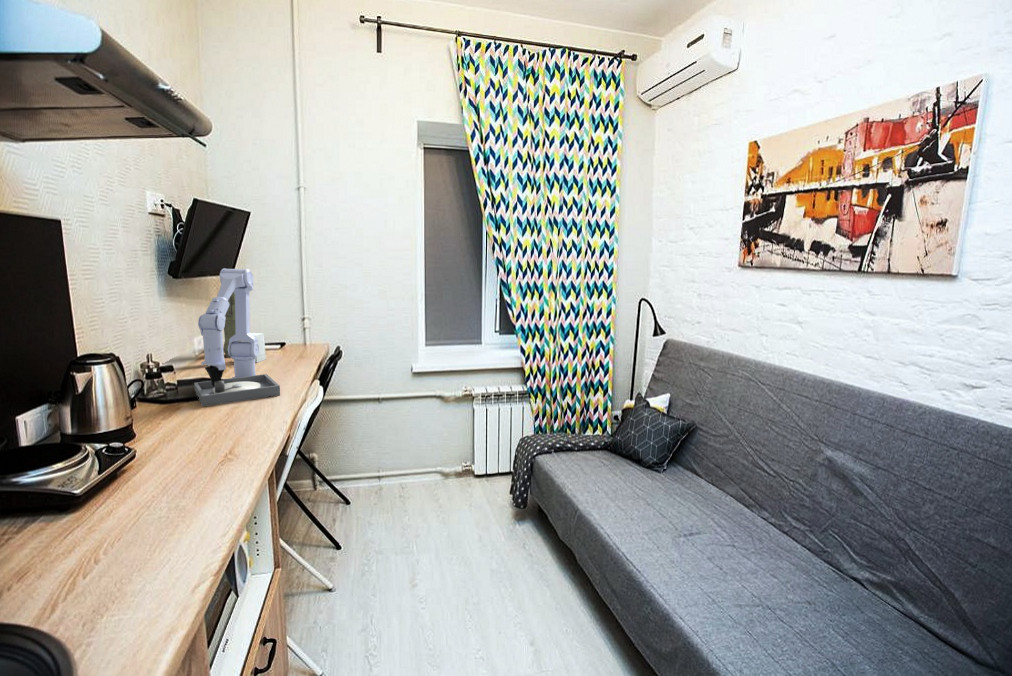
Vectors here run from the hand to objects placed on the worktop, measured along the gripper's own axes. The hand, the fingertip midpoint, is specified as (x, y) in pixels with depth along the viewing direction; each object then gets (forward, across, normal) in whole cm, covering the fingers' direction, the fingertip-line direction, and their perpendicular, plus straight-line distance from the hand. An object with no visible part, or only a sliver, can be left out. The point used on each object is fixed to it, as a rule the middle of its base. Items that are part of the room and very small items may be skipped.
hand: (216, 386), depth 169 cm
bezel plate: (+4, 0, +6) cm, 8 cm away
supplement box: (+4, -49, +31) cm, 59 cm away
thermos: (+4, -67, +29) cm, 73 cm away
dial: (+3, 0, +6) cm, 7 cm away
